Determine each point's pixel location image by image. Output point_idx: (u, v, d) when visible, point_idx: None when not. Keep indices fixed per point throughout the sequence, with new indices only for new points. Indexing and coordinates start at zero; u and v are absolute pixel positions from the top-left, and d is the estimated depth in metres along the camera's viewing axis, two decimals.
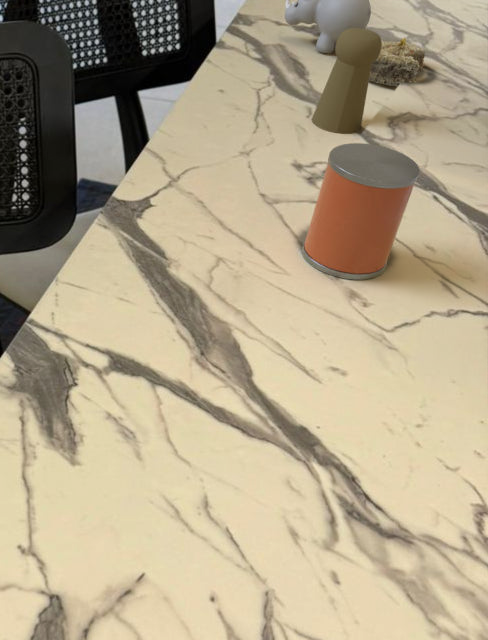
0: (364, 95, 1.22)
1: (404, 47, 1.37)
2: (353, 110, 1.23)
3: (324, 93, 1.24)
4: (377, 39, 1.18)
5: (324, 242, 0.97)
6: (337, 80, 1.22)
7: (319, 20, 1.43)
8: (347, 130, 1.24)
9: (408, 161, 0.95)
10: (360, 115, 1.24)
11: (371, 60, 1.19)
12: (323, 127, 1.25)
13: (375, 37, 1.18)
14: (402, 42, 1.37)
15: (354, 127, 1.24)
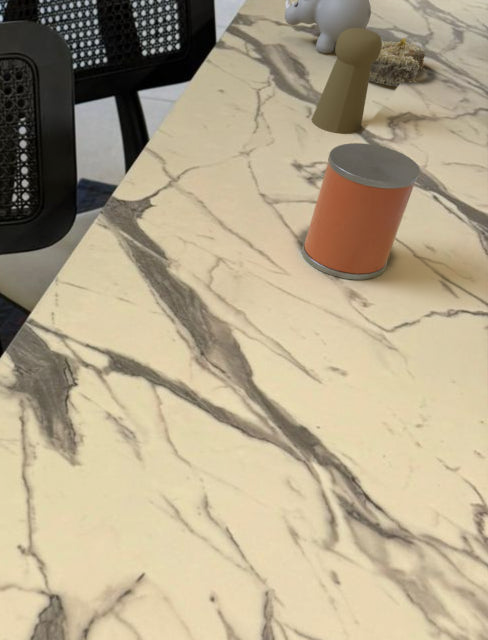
0: (364, 95, 1.22)
1: (404, 47, 1.37)
2: (353, 110, 1.23)
3: (324, 93, 1.24)
4: (377, 39, 1.18)
5: (324, 242, 0.97)
6: (337, 80, 1.22)
7: (319, 20, 1.43)
8: (347, 130, 1.24)
9: (408, 161, 0.95)
10: (360, 115, 1.24)
11: (371, 60, 1.19)
12: (323, 127, 1.25)
13: (375, 37, 1.18)
14: (402, 42, 1.37)
15: (354, 127, 1.24)
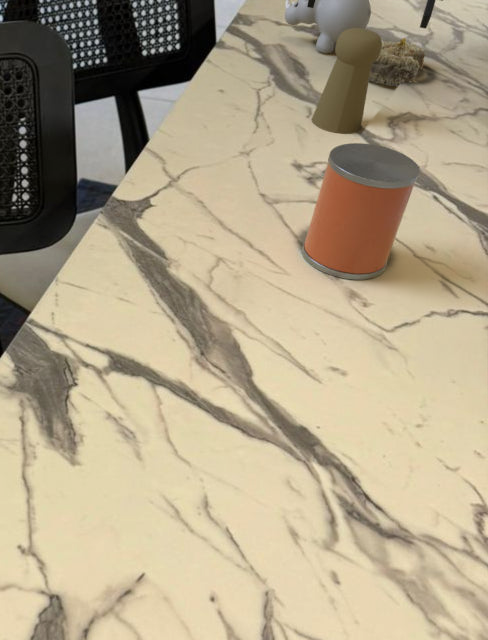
0: (364, 95, 1.22)
1: (404, 47, 1.37)
2: (353, 110, 1.23)
3: (324, 93, 1.24)
4: (377, 39, 1.18)
5: (324, 242, 0.97)
6: (337, 80, 1.22)
7: (319, 20, 1.43)
8: (347, 130, 1.24)
9: (408, 161, 0.95)
10: (360, 115, 1.24)
11: (371, 60, 1.19)
12: (323, 127, 1.25)
13: (375, 37, 1.18)
14: (402, 42, 1.37)
15: (354, 127, 1.24)
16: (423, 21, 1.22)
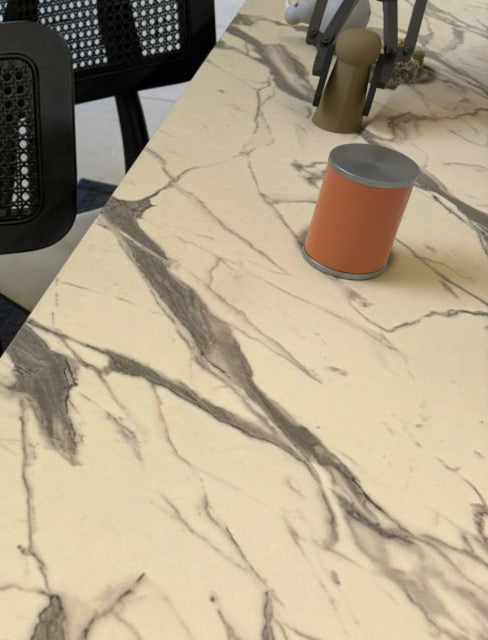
0: (364, 95, 1.22)
1: None
2: (353, 110, 1.23)
3: (324, 93, 1.24)
4: (377, 39, 1.18)
5: (324, 242, 0.97)
6: (337, 80, 1.22)
7: None
8: (347, 130, 1.24)
9: (408, 161, 0.95)
10: (360, 115, 1.24)
11: (371, 60, 1.19)
12: (323, 127, 1.25)
13: (375, 37, 1.18)
14: (402, 42, 1.37)
15: (354, 127, 1.24)
16: (364, 110, 1.21)
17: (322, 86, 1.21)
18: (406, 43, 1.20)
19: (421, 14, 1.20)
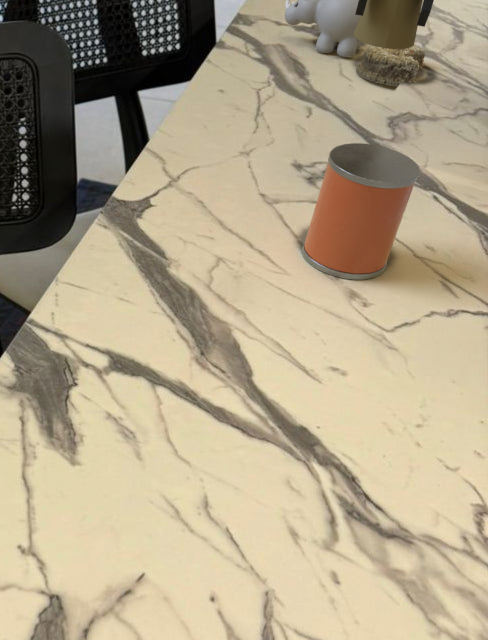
0: (420, 0, 0.99)
1: None
2: (406, 19, 0.99)
3: None
4: None
5: (324, 242, 0.97)
6: None
7: (319, 20, 1.43)
8: (398, 45, 1.01)
9: (408, 161, 0.95)
10: (414, 26, 1.00)
11: None
12: (368, 42, 1.01)
13: None
14: None
15: (407, 41, 1.01)
16: (421, 17, 0.97)
17: None
18: None
19: None
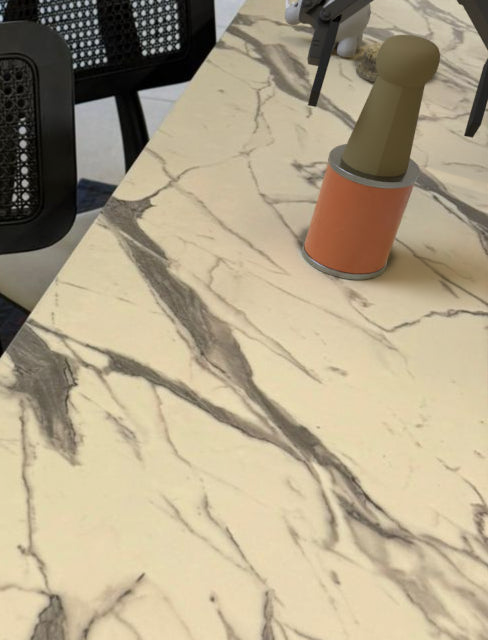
0: (414, 125, 0.90)
1: None
2: (398, 146, 0.91)
3: (360, 122, 0.92)
4: (434, 50, 0.86)
5: (324, 242, 0.97)
6: (377, 106, 0.89)
7: None
8: (390, 172, 0.92)
9: None
10: (408, 152, 0.92)
11: (426, 79, 0.87)
12: (358, 168, 0.93)
13: (431, 48, 0.86)
14: None
15: (400, 168, 0.92)
16: (470, 129, 0.88)
17: (321, 79, 0.89)
18: None
19: None
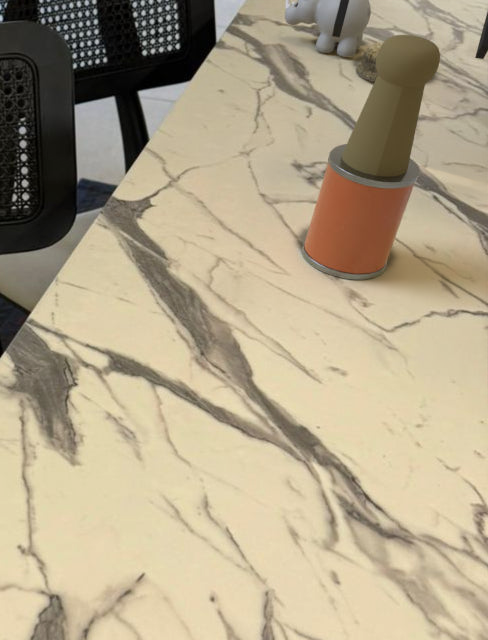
0: (414, 125, 0.90)
1: None
2: (398, 146, 0.91)
3: (360, 122, 0.92)
4: (434, 50, 0.86)
5: (324, 242, 0.97)
6: (377, 106, 0.89)
7: (319, 19, 1.43)
8: (390, 172, 0.92)
9: None
10: (408, 152, 0.92)
11: (426, 79, 0.87)
12: (358, 168, 0.93)
13: (431, 48, 0.86)
14: None
15: (400, 168, 0.92)
16: (480, 52, 0.97)
17: (343, 12, 0.99)
18: None
19: None
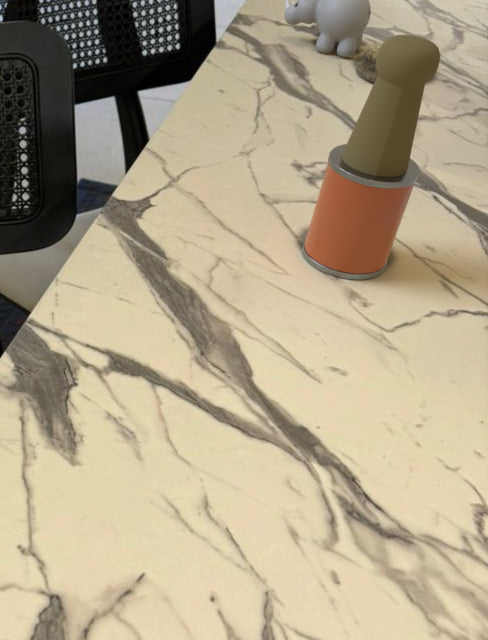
0: (414, 125, 0.90)
1: None
2: (398, 146, 0.91)
3: (360, 122, 0.92)
4: (434, 50, 0.86)
5: (324, 242, 0.97)
6: (377, 106, 0.89)
7: (319, 19, 1.43)
8: (390, 172, 0.92)
9: None
10: (408, 152, 0.92)
11: (426, 79, 0.87)
12: (358, 168, 0.93)
13: (431, 48, 0.86)
14: None
15: (400, 168, 0.92)
16: None
17: None
18: None
19: None
